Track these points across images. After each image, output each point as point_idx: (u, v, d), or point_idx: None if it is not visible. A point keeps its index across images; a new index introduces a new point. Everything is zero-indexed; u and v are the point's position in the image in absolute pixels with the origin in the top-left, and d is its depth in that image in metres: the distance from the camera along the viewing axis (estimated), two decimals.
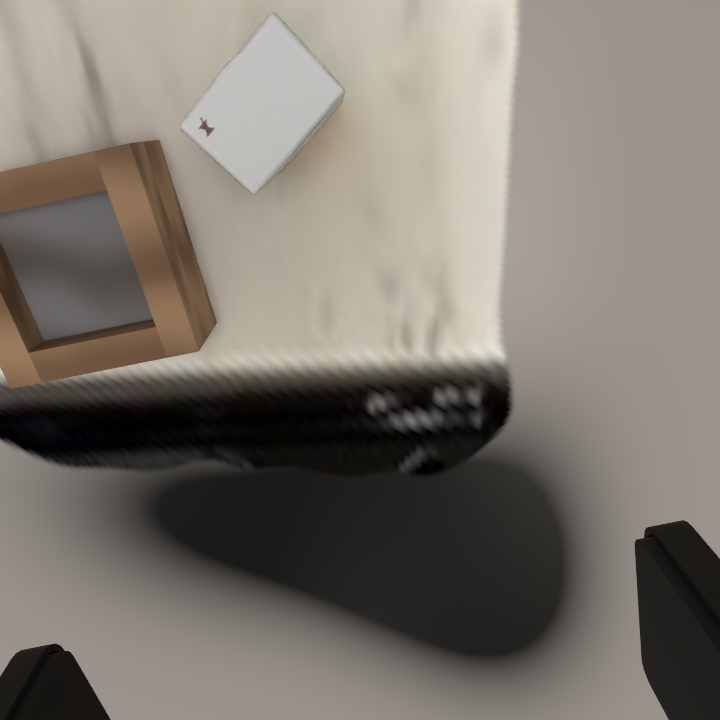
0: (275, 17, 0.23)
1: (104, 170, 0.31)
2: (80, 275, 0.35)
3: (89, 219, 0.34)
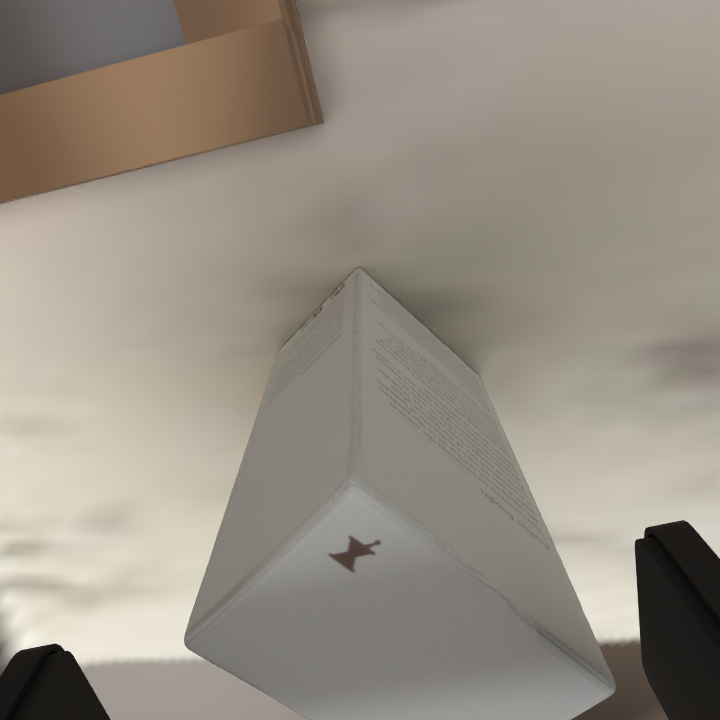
0: None
1: (236, 44, 0.12)
2: None
3: None
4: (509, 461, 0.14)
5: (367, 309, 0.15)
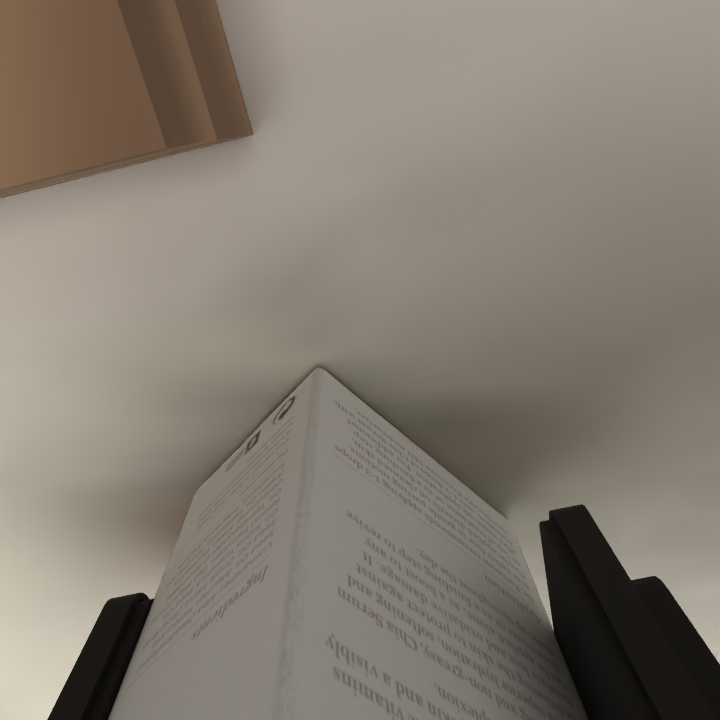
0: None
1: None
2: None
3: None
4: None
5: (325, 484, 0.08)
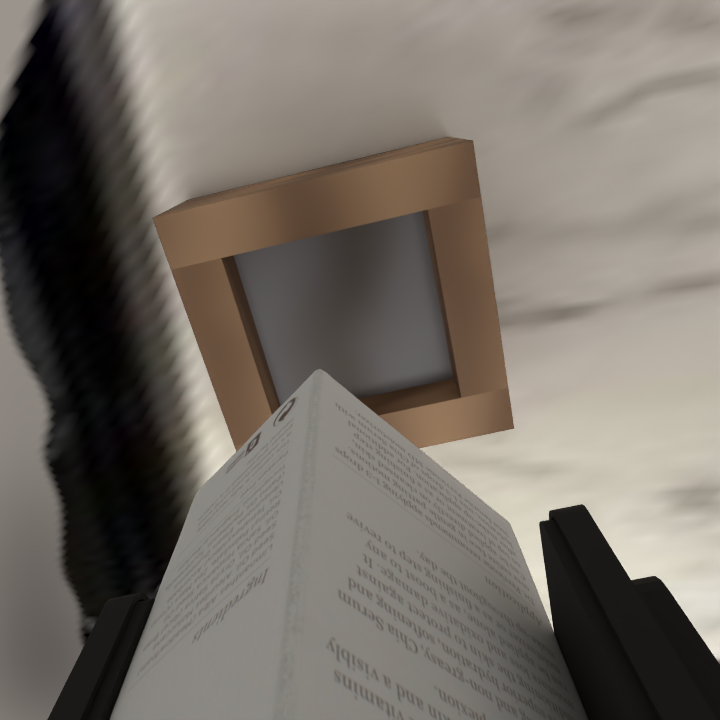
0: None
1: (485, 397, 0.25)
2: (336, 314, 0.25)
3: (412, 336, 0.26)
4: None
5: (325, 487, 0.08)
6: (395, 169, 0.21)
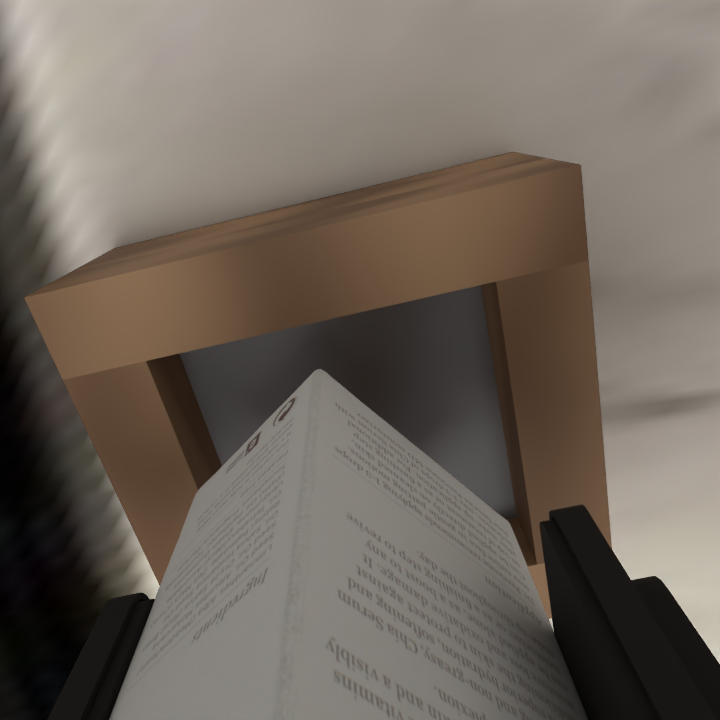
0: None
1: None
2: None
3: (457, 460, 0.17)
4: None
5: (324, 487, 0.08)
6: (442, 215, 0.12)
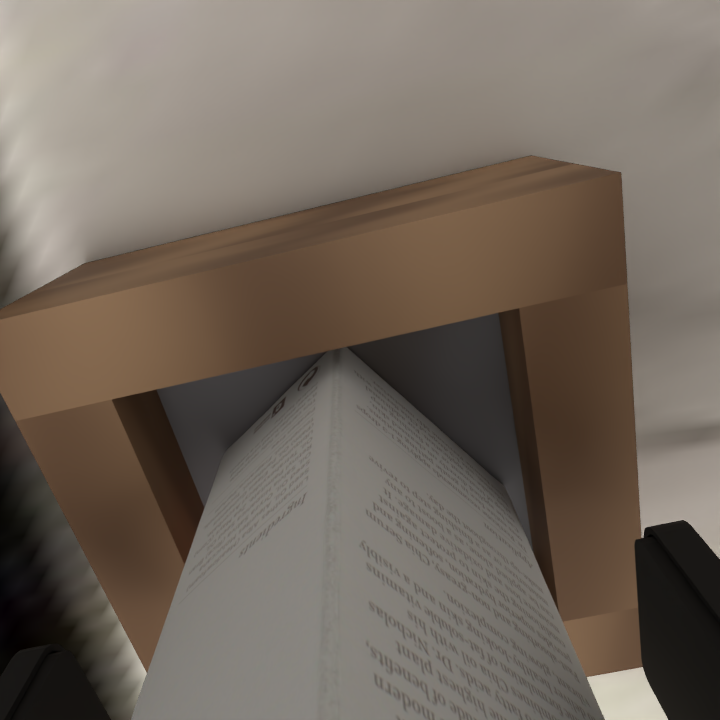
0: None
1: (602, 621, 0.14)
2: None
3: None
4: (580, 693, 0.09)
5: (350, 434, 0.09)
6: (457, 231, 0.10)
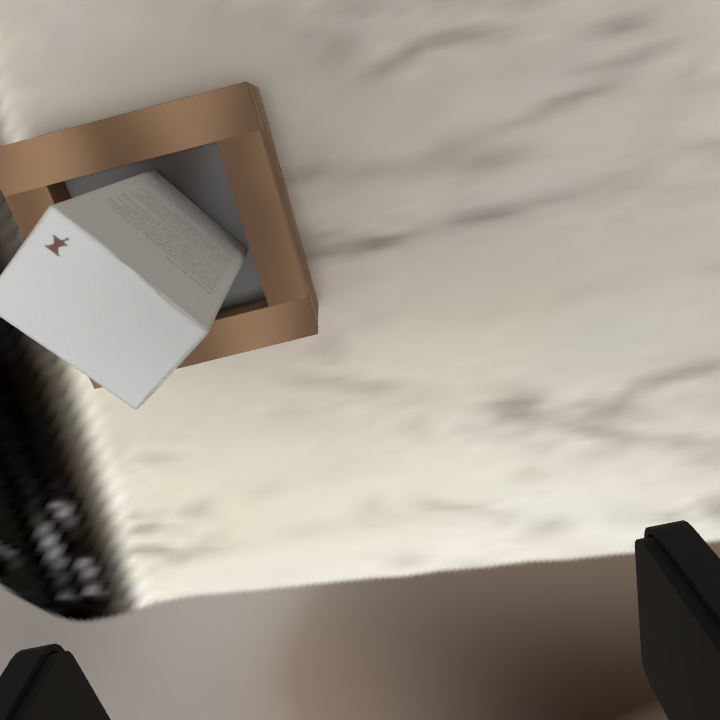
0: (201, 335, 0.19)
1: (289, 306, 0.29)
2: None
3: None
4: (220, 270, 0.24)
5: (137, 181, 0.25)
6: (184, 107, 0.25)
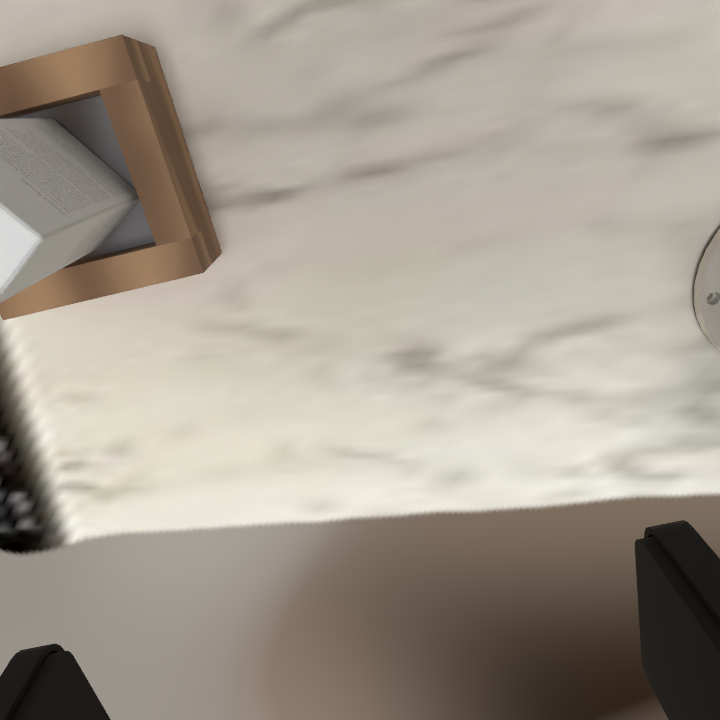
0: (36, 241, 0.22)
1: (175, 246, 0.32)
2: None
3: None
4: (90, 201, 0.27)
5: (21, 122, 0.28)
6: (68, 57, 0.28)
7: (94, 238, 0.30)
